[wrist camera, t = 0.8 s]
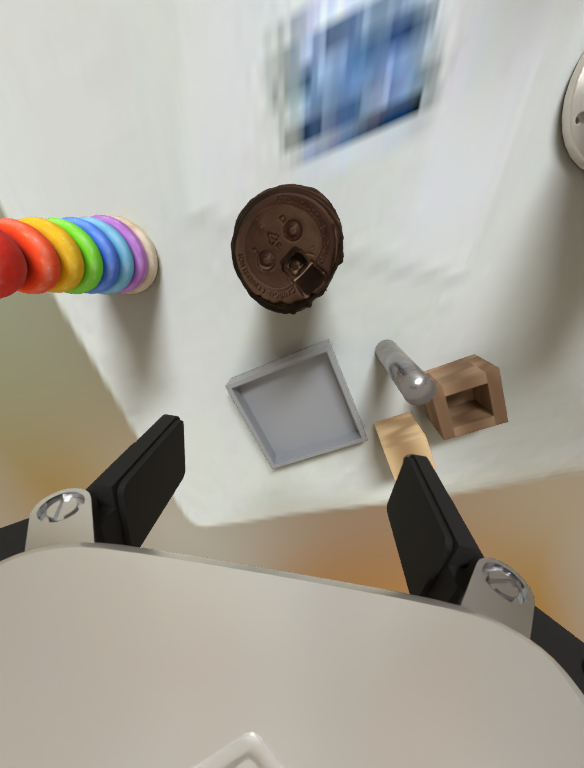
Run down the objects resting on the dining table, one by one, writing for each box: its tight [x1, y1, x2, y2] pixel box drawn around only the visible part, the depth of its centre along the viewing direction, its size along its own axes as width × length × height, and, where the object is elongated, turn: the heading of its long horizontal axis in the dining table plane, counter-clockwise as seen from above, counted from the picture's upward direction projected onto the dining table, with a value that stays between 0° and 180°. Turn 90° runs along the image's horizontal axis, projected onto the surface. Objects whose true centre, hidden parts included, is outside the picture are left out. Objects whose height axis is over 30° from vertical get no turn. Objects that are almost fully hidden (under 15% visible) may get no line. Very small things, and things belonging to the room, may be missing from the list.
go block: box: [424, 354, 508, 440], centre depth 33 cm, size 7×7×5 cm
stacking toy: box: [0, 215, 158, 298], centre depth 23 cm, size 8×8×19 cm
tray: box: [225, 339, 367, 469], centre depth 37 cm, size 14×14×3 cm
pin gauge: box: [375, 340, 436, 405], centre depth 28 cm, size 3×3×12 cm
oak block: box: [374, 412, 436, 480], centre depth 36 cm, size 5×5×6 cm
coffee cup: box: [231, 184, 344, 314], centre depth 25 cm, size 9×8×13 cm
